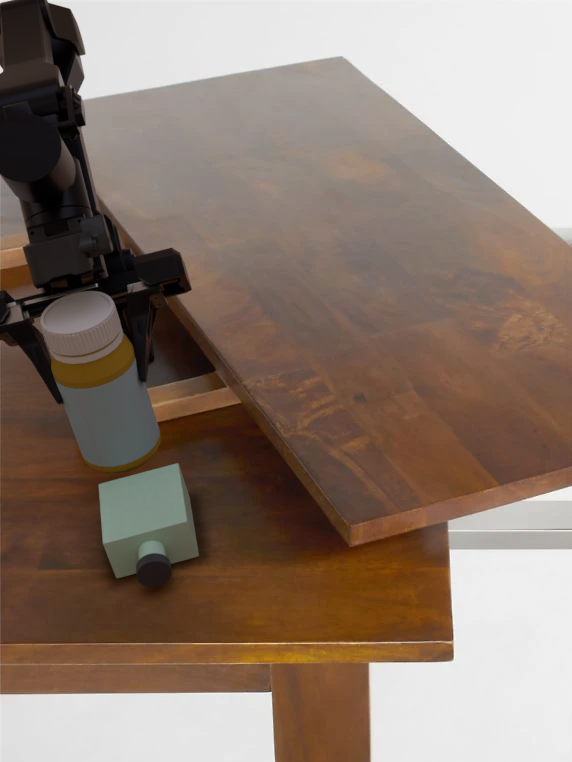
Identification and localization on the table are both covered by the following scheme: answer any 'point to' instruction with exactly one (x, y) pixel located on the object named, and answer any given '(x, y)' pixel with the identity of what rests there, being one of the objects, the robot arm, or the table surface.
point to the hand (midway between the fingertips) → (101, 392)
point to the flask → (147, 524)
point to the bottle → (100, 382)
